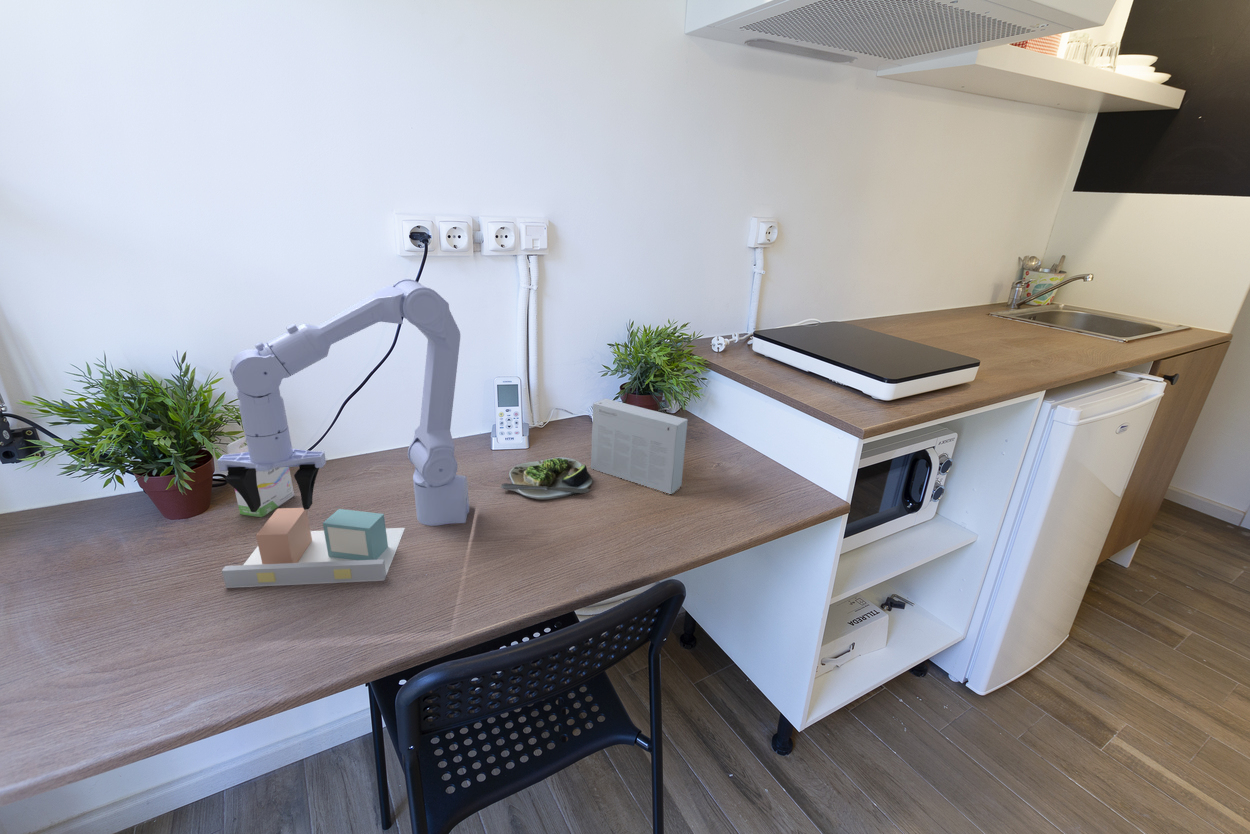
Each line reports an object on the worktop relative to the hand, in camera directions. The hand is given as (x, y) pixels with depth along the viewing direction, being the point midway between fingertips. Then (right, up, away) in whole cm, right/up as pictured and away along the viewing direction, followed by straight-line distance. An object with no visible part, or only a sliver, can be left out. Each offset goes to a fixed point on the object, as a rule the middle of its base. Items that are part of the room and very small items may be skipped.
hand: (282, 507), depth 93 cm
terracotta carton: (-1, -8, +3) cm, 9 cm away
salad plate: (+39, 0, +33) cm, 51 cm away
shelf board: (+5, -9, +4) cm, 11 cm away
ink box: (-13, -3, +18) cm, 22 cm away
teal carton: (+10, -8, +5) cm, 14 cm away
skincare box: (+57, +1, +36) cm, 68 cm away
